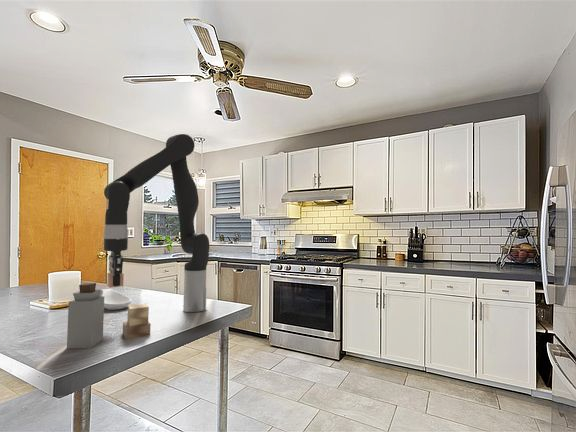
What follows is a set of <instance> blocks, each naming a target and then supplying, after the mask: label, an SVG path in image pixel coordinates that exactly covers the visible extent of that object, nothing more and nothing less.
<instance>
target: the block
mask: <svg viewBox="0 0 576 432" xmlns="http://www.w3.org/2000/svg"><path fill="white" fill-rule="evenodd" d="M106 277H107V278H106V279H107V280H106V286H107V287H108V289H112V288H119V287H124V277H125V276H124V272H122V274H121V275H120V286H113V273H110V272H107V276H106Z"/></svg>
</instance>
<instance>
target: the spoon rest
mask: <svg viewBox="0 0 576 432" xmlns="http://www.w3.org/2000/svg"><path fill="white" fill-rule="evenodd" d="M100 290H101V292H100V295H99V296H104V309H107V310H108V311H117V310H118V311H119V310H122V309H125V308H128V305H131V303H132V301H133V299H132V298H131V297H129V296H127V295H125V294H122V293H120V292H118V291H117V290H114V289H112V288H107V289H103V288H101V289H100Z"/></svg>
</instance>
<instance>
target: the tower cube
mask: <svg viewBox="0 0 576 432" xmlns="http://www.w3.org/2000/svg"><path fill="white" fill-rule="evenodd" d="M149 309H150V307H149V305H148V304H147V303H138V304H137V303H136V304H129V305H128V306H127V318H126V319H127V320H126V322H128V324H129V326H136V325H142V324H148V322H149V313H150V312H149V311H150V310H149Z"/></svg>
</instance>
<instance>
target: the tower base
mask: <svg viewBox="0 0 576 432" xmlns="http://www.w3.org/2000/svg"><path fill="white" fill-rule="evenodd" d="M122 335H123V336H124V337H125V339H126V340H133V339H136V338H137V337H138V338H142V337H143V338H144V337H149V336H151V322H150V321H148V324H142V325H136V326H129V324H128V322H127V321H123V322H122ZM148 335H149V336H148ZM138 338H137V339H138Z"/></svg>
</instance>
